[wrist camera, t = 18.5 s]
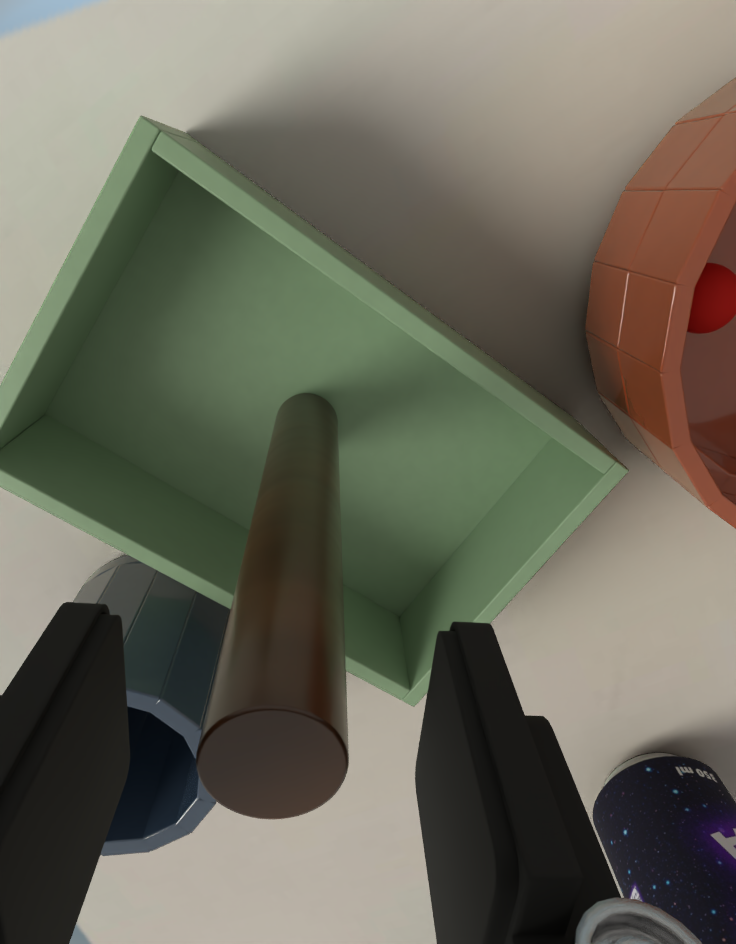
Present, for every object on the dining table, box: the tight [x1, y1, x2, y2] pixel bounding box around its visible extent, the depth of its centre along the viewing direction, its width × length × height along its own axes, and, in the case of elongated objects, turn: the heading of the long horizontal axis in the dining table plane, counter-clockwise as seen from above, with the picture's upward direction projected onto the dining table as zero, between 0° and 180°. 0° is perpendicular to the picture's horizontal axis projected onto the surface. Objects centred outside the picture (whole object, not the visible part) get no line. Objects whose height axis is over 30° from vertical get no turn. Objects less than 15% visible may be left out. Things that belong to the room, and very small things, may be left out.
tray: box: [0, 116, 629, 706], centre depth 20 cm, size 15×10×4 cm, turn 55°
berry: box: [687, 263, 736, 334], centre depth 19 cm, size 2×2×2 cm
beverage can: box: [593, 753, 736, 944], centre depth 24 cm, size 6×6×12 cm
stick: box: [196, 393, 349, 819], centre depth 15 cm, size 2×2×14 cm
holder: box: [73, 555, 231, 856], centre depth 22 cm, size 6×6×7 cm
